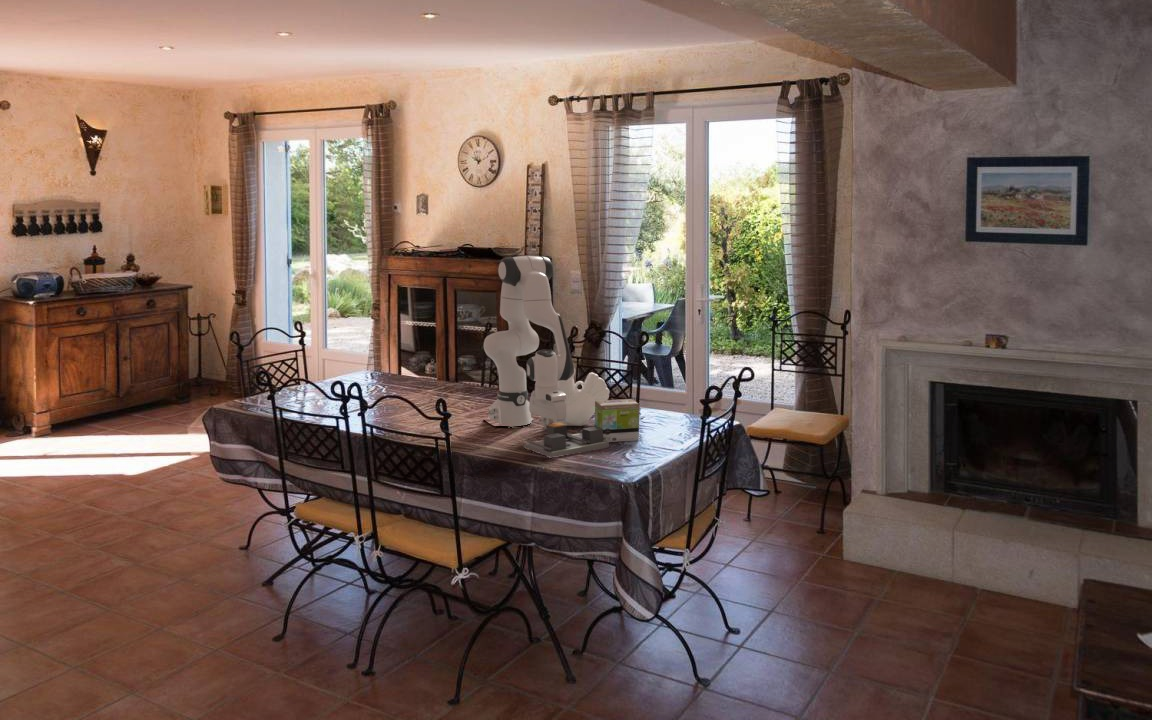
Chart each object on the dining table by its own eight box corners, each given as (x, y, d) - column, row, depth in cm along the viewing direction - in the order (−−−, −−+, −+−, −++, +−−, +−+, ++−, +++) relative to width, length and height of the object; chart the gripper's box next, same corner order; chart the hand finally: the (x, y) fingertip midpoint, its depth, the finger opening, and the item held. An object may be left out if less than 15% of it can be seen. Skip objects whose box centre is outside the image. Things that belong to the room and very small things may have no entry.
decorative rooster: (550, 430, 398) (549, 369, 394) (548, 422, 414) (547, 362, 410) (613, 428, 400) (612, 367, 396) (608, 420, 416) (608, 361, 412)
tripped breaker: (540, 438, 376) (540, 423, 375) (559, 435, 381) (559, 420, 380) (554, 443, 369) (553, 428, 368) (573, 439, 374) (572, 424, 373)
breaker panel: (523, 448, 370) (523, 430, 369) (580, 438, 385) (580, 420, 384) (551, 458, 356) (550, 439, 354) (608, 447, 370) (608, 428, 369)
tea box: (601, 444, 376) (601, 405, 373) (594, 438, 385) (593, 400, 383) (639, 440, 380) (639, 402, 377) (631, 435, 389) (631, 397, 387)
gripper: (524, 390, 384) (525, 425, 386) (555, 398, 367) (555, 434, 369) (538, 388, 387) (539, 423, 390) (569, 396, 371) (569, 432, 373)
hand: (547, 428), depth 379 cm, fingers closed
